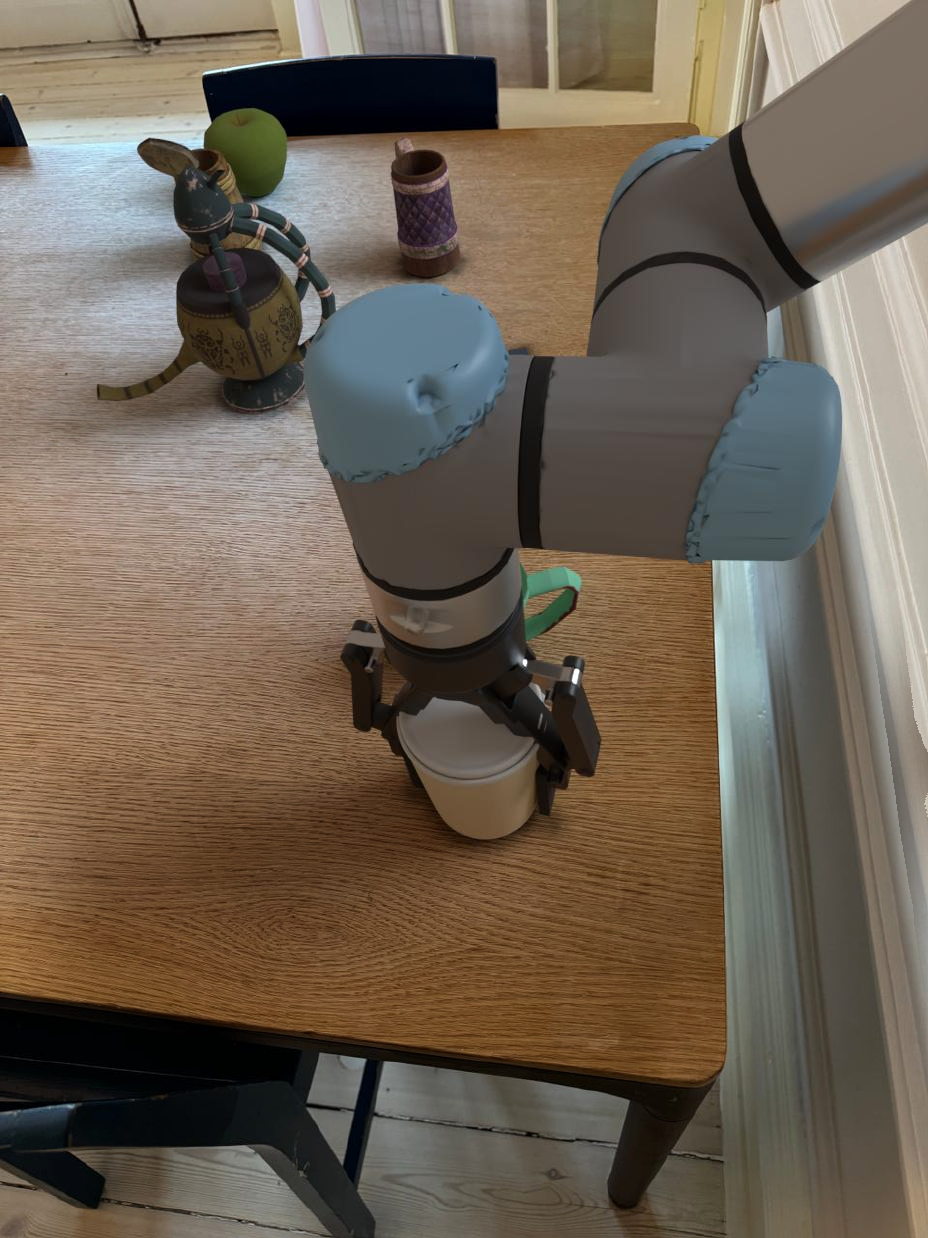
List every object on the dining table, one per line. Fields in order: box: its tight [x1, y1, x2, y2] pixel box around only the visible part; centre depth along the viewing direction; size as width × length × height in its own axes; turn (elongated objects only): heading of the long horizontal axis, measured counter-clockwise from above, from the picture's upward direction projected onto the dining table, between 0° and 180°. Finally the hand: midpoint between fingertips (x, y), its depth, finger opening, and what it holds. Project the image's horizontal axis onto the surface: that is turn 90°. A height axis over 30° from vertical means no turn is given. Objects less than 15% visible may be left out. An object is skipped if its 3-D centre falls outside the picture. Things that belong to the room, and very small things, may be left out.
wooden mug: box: [136, 137, 263, 263], centre depth 98 cm, size 9×14×18 cm, turn 173°
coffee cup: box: [397, 682, 548, 840], centre depth 57 cm, size 9×9×12 cm
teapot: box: [96, 165, 337, 414], centre depth 81 cm, size 12×25×23 cm, turn 111°
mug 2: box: [520, 561, 582, 642], centre depth 65 cm, size 12×8×8 cm, turn 99°
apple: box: [202, 107, 288, 198], centre depth 111 cm, size 11×10×10 cm
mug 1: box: [390, 137, 461, 278], centre depth 97 cm, size 10×7×12 cm
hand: (484, 783), depth 61 cm, fingers closed on coffee cup, 8 cm apart
